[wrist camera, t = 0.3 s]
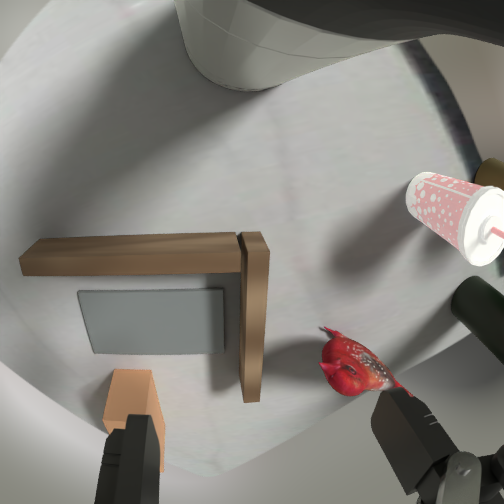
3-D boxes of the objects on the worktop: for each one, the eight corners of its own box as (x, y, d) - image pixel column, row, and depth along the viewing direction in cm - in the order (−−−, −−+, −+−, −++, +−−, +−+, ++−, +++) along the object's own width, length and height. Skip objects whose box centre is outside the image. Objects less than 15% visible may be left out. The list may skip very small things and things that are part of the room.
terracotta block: (114, 368, 30) (102, 419, 23) (151, 369, 30) (144, 422, 24) (134, 424, 34) (128, 470, 27) (165, 425, 34) (163, 472, 28)
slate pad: (79, 290, 26) (77, 292, 25) (222, 287, 27) (223, 290, 27) (95, 350, 28) (94, 353, 28) (223, 350, 30) (224, 353, 30)
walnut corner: (39, 239, 23) (18, 258, 20) (260, 231, 26) (269, 251, 22) (78, 373, 29) (69, 400, 26) (253, 373, 32) (259, 401, 28)
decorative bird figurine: (303, 294, 29) (343, 369, 20) (401, 358, 35) (441, 414, 26) (282, 317, 30) (313, 396, 21) (385, 374, 36) (421, 432, 27)
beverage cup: (415, 238, 28) (517, 315, 16) (387, 191, 26) (506, 257, 13) (455, 199, 27) (561, 255, 15) (431, 150, 25) (554, 190, 12)
